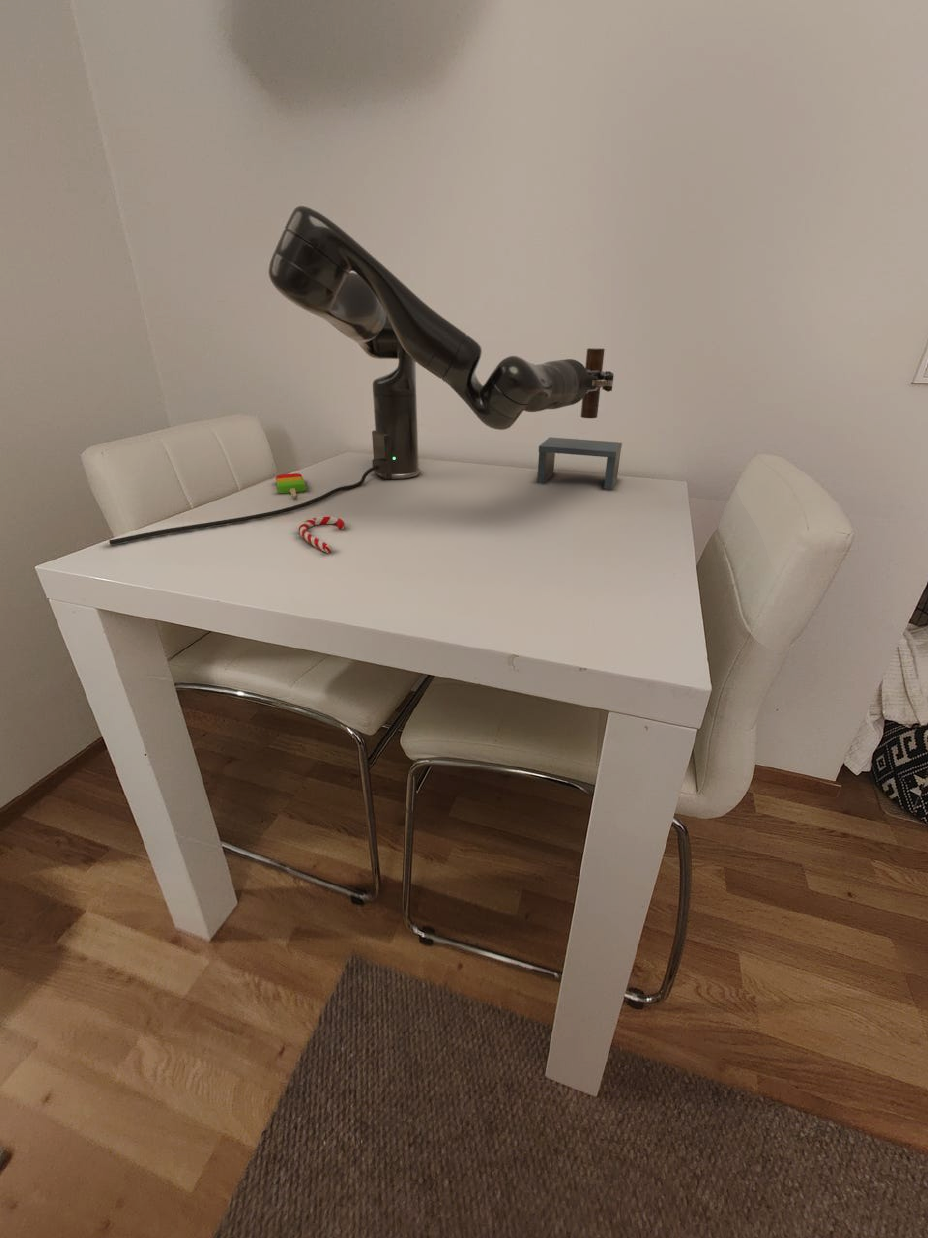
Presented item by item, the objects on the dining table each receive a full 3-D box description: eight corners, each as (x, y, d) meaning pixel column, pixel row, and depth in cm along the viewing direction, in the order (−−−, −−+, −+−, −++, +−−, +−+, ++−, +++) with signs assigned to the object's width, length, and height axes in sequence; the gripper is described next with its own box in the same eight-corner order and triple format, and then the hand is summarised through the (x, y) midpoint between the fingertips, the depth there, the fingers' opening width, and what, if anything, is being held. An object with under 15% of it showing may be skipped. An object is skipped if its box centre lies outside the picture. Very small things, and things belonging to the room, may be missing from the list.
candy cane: (305, 548, 85) (295, 518, 98) (306, 556, 86) (296, 525, 98) (356, 542, 88) (340, 513, 100) (357, 550, 88) (341, 521, 101)
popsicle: (302, 480, 125) (301, 472, 124) (309, 499, 112) (308, 490, 111) (276, 483, 123) (275, 474, 122) (280, 502, 111) (278, 492, 110)
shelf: (610, 490, 119) (615, 451, 115) (536, 483, 124) (538, 445, 120) (617, 479, 127) (622, 442, 123) (547, 472, 132) (549, 437, 128)
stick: (588, 418, 108) (596, 349, 103) (577, 416, 111) (583, 348, 105) (600, 417, 110) (608, 348, 104) (588, 415, 112) (595, 347, 107)
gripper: (520, 404, 102) (564, 394, 114) (593, 411, 95) (631, 400, 107) (522, 358, 98) (567, 353, 111) (598, 362, 91) (637, 356, 104)
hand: (599, 376), depth 109 cm, fingers closed on stick, 3 cm apart
